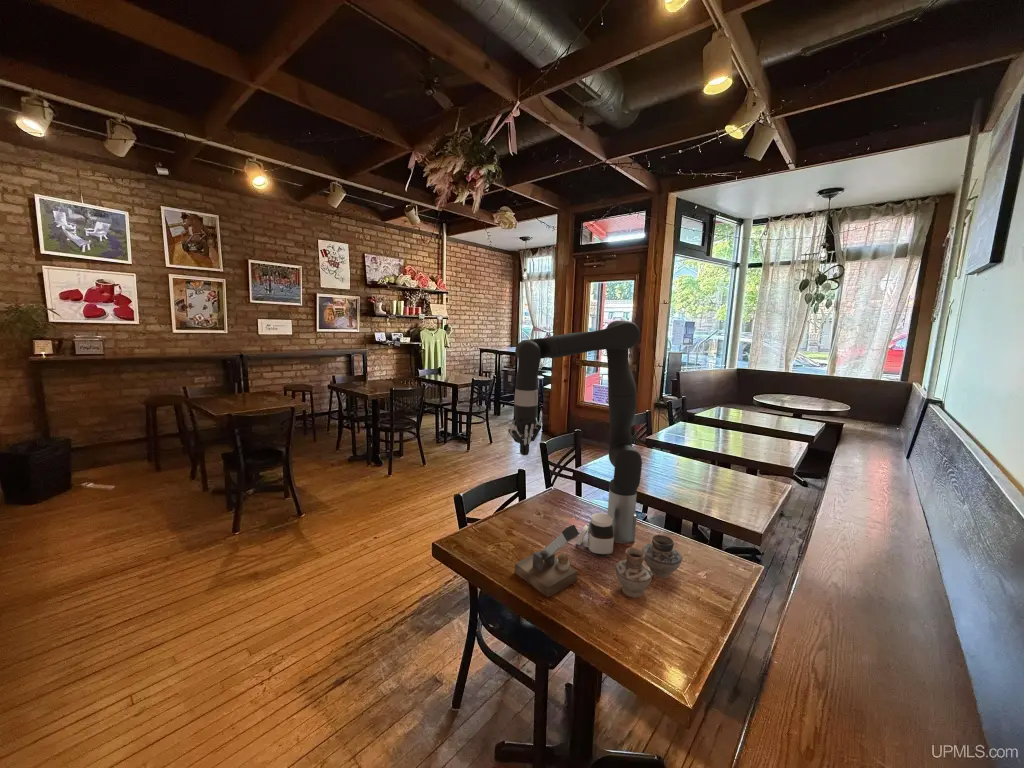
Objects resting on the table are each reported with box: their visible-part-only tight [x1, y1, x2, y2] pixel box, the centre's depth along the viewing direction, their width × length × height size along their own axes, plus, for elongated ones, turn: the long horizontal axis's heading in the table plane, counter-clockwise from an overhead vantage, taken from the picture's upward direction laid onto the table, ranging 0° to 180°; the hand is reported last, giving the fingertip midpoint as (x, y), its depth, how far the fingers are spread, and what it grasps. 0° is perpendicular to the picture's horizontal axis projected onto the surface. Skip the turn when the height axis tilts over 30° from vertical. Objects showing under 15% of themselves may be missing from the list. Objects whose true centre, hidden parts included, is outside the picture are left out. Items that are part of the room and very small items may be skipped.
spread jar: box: [576, 512, 615, 558], centre depth 135 cm, size 12×11×12 cm
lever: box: [539, 524, 580, 560], centre depth 115 cm, size 3×3×17 cm
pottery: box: [614, 534, 683, 599], centre depth 119 cm, size 11×25×12 cm, turn 130°
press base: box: [514, 545, 578, 598], centre depth 120 cm, size 14×12×8 cm
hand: (524, 454), depth 134 cm, fingers closed
